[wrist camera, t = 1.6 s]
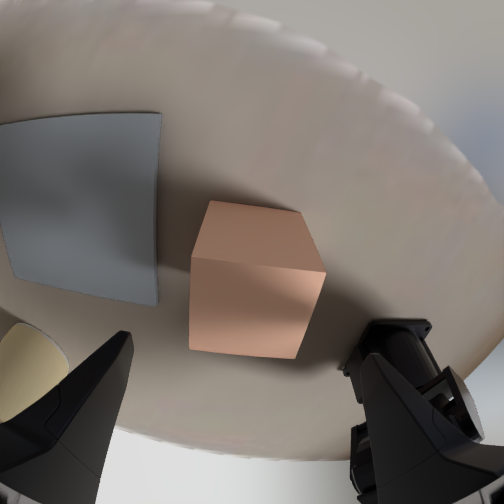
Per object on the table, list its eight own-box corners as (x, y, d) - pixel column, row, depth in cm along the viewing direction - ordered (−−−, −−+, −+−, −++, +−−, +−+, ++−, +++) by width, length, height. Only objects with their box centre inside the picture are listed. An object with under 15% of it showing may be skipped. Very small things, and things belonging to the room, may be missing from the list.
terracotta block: (300, 212, 16) (326, 272, 11) (282, 285, 18) (294, 358, 13) (210, 200, 15) (191, 256, 10) (203, 276, 18) (189, 349, 13)
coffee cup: (-2, 303, 19) (-60, 389, 9) (69, 336, 21) (17, 447, 10) (19, 358, 24) (-19, 434, 13) (81, 387, 25) (51, 476, 15)
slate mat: (162, 113, 13) (158, 114, 12) (158, 301, 19) (156, 307, 18) (-4, 125, 12) (-10, 127, 11) (18, 273, 17) (14, 277, 17)
